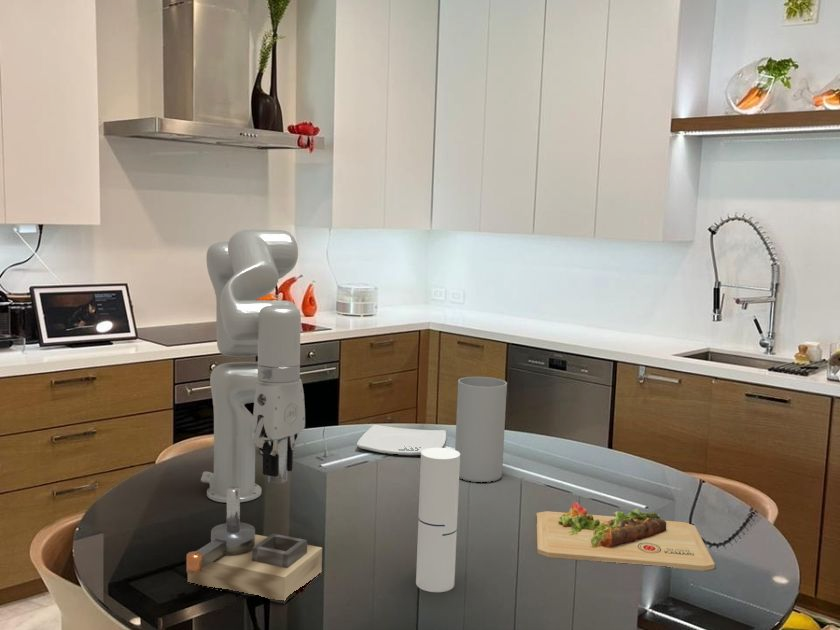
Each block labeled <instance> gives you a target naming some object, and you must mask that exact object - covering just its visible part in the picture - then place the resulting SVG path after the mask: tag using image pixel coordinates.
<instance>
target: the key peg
mask: <svg viewBox="0 0 840 630" xmlns="http://www.w3.org/2000/svg"><path fill="white" fill-rule="evenodd" d="M269 444H270V446H271V441H269ZM287 447H288V437H286V438H283V439H280V440H278V443H277V453H276V455H279V474H278V476H277V477H273V476H268V475H267V476H268V478H267V479H268V483H271V484H274V485H275V484H284V483H286V482H287V481H288V471H287Z"/></svg>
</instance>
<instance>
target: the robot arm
mask: <svg viewBox="0 0 840 630" xmlns="http://www.w3.org/2000/svg"><path fill="white" fill-rule="evenodd" d="M298 257H299V248H298V244H297V241H296V239H295V237H294V235H292V234H291V233H290V232H288V231H287V230H281V229H280V230H279V229H243V230H242V229H241V230H240V231H237V232H235V233H234V234H232V236H231V237H230V239H229V241H220V242H214V243H212V244H211V245H210V246H209V247H208V249H207V251H206V257H205V258H206V267H207V272H208V276H209V278H210V279H209V280H210V281H211V284H212V287H213V290H214V294H215V300H216V304H215V306H216V320H215V321H216V346H217V349H218V351H219V353H220V354H221V355H223V356H227V357H239V358H240V357H257V361H237V362H236V361H235V362H233V361H231V362H225V363H221V364H218V365H216V366H215V367H214V368H213V369H212V370H211V372H210V379H209V380H210V381H209V382H210V383H209V384H210V385H209V386H210V390H211V391H210V392H211V398H212V406H213V472H211V471H203V472H202V475H201V478H200V482H201V483H204V484H206V483H207V484H209V487H208V488H207V490H206V496H207V498H208V499H210V500H212V501H215V502H217V503H226V504H227V488H229V487H239V488H240V503H245V502H250V501H253V500H255V499H257V498H260V497H261V495H262V487H261V486H260V485H258V484H257V483H256V448H258V449H259V450H260V454H263V455H262V474H263V475H264V476H273V477H277V476H278V474H279V455H276V453H277V443H278V440H280V439H283V438H286V437H288V447H287V472H290V471H292V470H293V458H294V457H293V456H294V452H293V451H294V450H293V449H295V447H296V444H295V443H296V441H297V438H298V435H300V433H301V432H303V430H304V429H305V428H306V408H305V407H306V406H305V393H304V392H305V391H304V387H303V381H302V379H301V378H300V377H301V325H302V319H301V318H302V316H301V311H300V310H299V309H298V307H297V305H296V304H295V303H294V302H292V301H290V300H282V299H281V300H266V299H265V300H263V299H261V298H264V297H266V296H267V295H269V294H270V293H272V292H273V291H274V290H275V289H276V287H277V285H278V283H279V280H280V279H282V278H284V277H285V276H286V275H288V274H289V273H290V272H291V271H293V269H294V268H295V266H296V264H297V261H298ZM260 299H261V300H260ZM251 403H253V412H252V413H251V411H249V410H248V408H247V407H246V406H245V405H246V404H251ZM268 441H271V446H270V444H269V443H268Z"/></svg>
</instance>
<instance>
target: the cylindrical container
mask: <svg viewBox="0 0 840 630" xmlns="http://www.w3.org/2000/svg"><path fill="white" fill-rule="evenodd" d="M459 470H460V453H459V452H458V451H456V450H455V449H452V448H449V447H442V448H439V447H438V448H427V449H424V450H422V451H421V455H420V470H419V472H420V473H419V493H418V494H419V495H418V496H419V497H418V522H417V525H418V526H417V550H416V551H417V552H416V573H415V574H416V577H415V584H416V586H417V588H419V589H420V590H423V591H426V592H430V593H443V592H444V593H445V592H449V591H451V590H452V589H453V588H454V587H455V579H456V578H455V577H456V576H455V575H456V559H457V558H456V555H457V552H456V551H457V537H458V536H457V533H458V531H457V530H458V511H459V509H458V508H459V493H460V491H459V489H460V478H459Z"/></svg>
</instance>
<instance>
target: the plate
mask: <svg viewBox="0 0 840 630" xmlns="http://www.w3.org/2000/svg"><path fill="white" fill-rule="evenodd" d="M446 441H447V431H446V430H444V429H441V430H440V429H438V430H437V429H436V430H435V429H413V428H404V427H394V426H387V425H381V424H380V425H379V424H373V425H371V427H370V428H369V429H368V430H366V431H365V433H364V434H362V436H361V437H360V438H359V439H358V441H357V443H356V446H357V447H358V448H359V449H363V450H367V451H372V452H376V453H380V454H386V453H387V455H393V454H398V455H397V456H421V451H422V450H424V449H427V448H438V447H439V448H444V446H445V443H446ZM404 446H405V447H406V448H407V449H409V450H411V449H410V448H411V447H412V448H413V449H414V451H406V450H405V451H399V450H398V449H404V448H405V447H404ZM409 446H410V447H409ZM415 447H417V448H418V449H419V450H418V451H415V450H417V449H415ZM419 447H421V448H419Z"/></svg>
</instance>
